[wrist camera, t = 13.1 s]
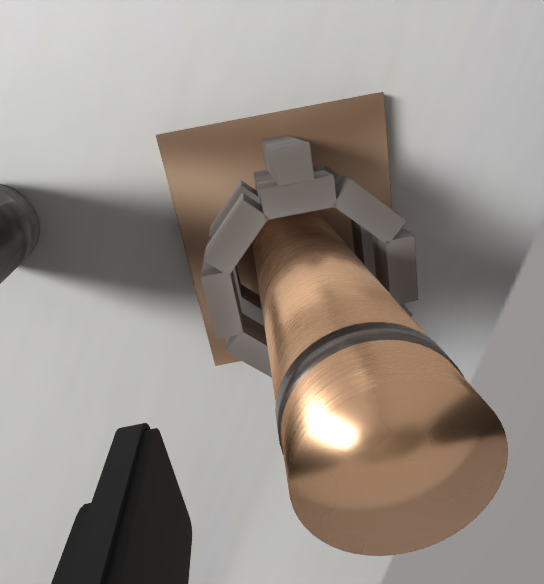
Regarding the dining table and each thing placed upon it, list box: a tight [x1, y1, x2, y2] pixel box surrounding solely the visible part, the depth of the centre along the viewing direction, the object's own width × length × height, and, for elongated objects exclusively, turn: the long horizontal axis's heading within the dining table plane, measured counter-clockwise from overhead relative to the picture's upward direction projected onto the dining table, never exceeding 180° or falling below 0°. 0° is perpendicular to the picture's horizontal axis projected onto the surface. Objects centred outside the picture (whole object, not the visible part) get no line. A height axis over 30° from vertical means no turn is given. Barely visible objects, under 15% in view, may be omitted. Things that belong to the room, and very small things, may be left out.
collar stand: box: [156, 92, 418, 377], centre depth 23 cm, size 14×12×8 cm
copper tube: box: [252, 211, 508, 556], centre depth 17 cm, size 5×5×18 cm
